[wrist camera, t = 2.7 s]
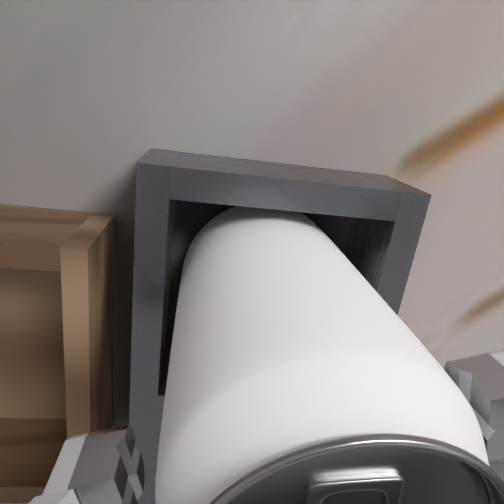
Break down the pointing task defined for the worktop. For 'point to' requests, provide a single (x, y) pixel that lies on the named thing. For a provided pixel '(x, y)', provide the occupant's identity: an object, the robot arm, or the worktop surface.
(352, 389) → the can
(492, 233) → the worktop surface
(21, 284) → the box
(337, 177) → the tray
